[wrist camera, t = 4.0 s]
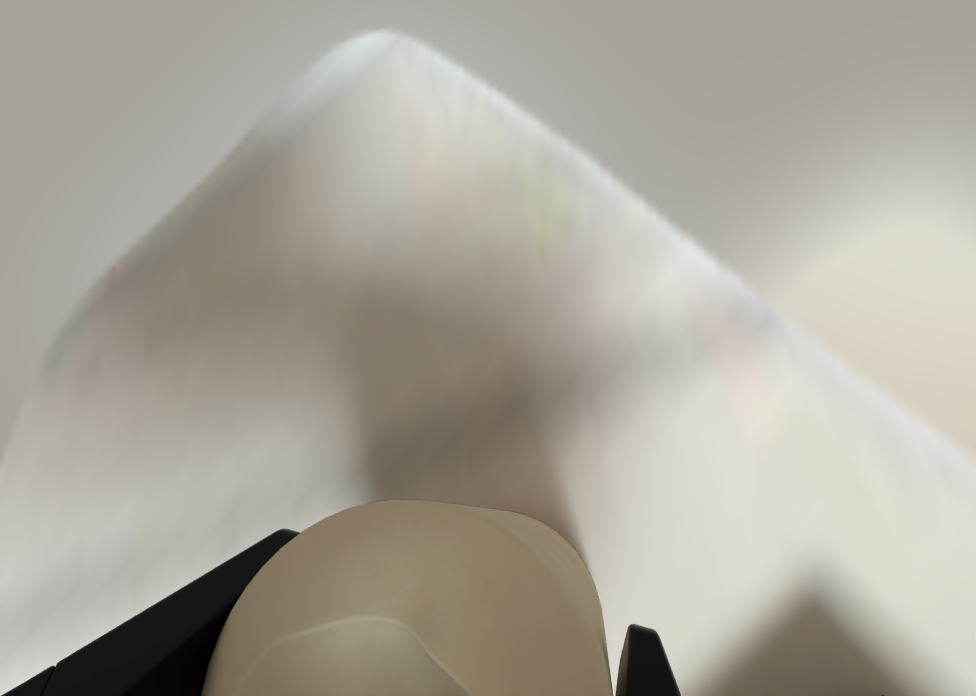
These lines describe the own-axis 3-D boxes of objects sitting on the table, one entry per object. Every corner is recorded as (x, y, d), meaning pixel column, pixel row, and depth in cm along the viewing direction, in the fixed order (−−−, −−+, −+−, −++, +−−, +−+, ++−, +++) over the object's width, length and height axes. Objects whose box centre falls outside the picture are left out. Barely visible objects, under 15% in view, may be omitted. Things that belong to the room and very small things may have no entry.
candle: (576, 493, 16) (555, 450, 6) (627, 718, 14) (703, 1137, 4) (389, 529, 16) (111, 542, 7) (415, 750, 14) (86, 1178, 5)
